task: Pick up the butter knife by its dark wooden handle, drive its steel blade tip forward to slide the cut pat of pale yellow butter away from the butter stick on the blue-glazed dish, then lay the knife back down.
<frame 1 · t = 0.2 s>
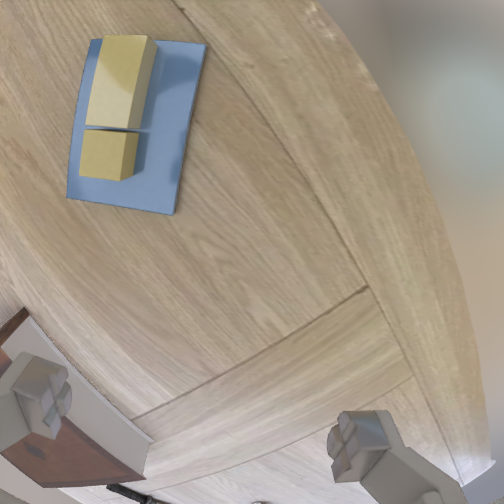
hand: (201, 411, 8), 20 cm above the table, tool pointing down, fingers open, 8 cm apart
butter dish: (130, 121, 23), on the table
knife: (154, 499, 44), on the table
book: (38, 406, 35), on the table
butter pat: (116, 152, 23), point 1 cm above the table, touching butter dish
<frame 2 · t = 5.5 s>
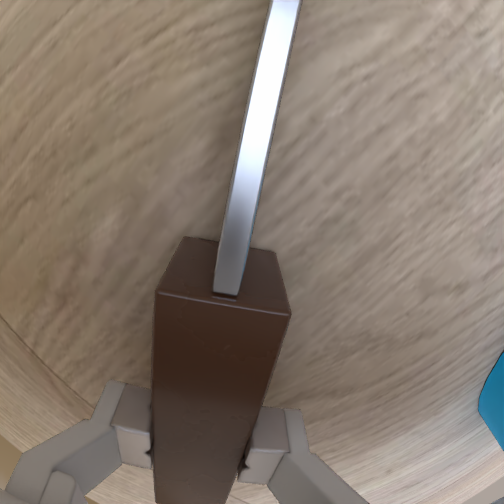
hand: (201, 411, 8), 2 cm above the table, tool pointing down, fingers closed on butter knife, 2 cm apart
butter knife: (206, 375, 10), on the table, touching gripper
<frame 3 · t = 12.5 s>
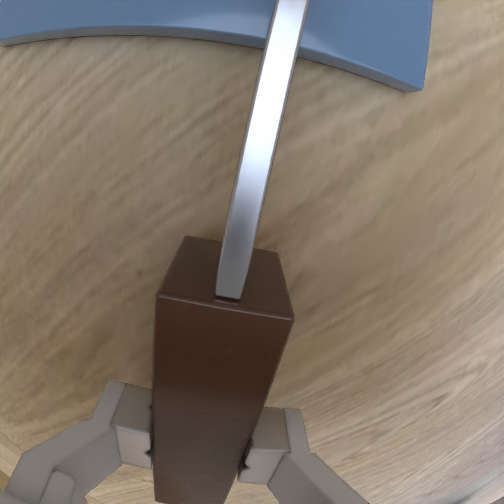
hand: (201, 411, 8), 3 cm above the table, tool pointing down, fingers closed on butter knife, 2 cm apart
butter knife: (206, 374, 10), point 2 cm above the table, touching butter pat, gripper
when the fingers open (2 cm above the table, at t = 18.9 s): butter knife stays where it is, on the table.
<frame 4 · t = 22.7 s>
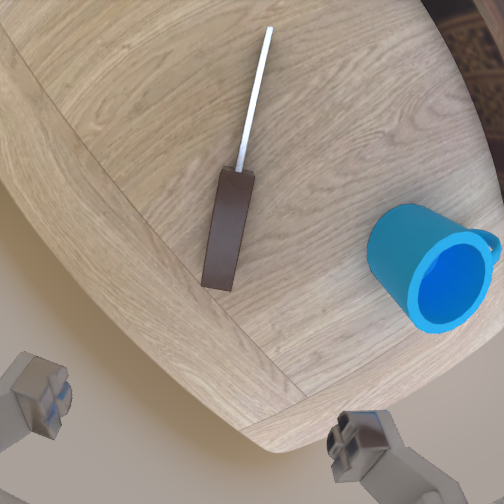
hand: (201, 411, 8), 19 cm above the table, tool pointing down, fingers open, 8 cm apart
butter knife: (227, 223, 26), on the table
mug: (422, 240, 27), on the table
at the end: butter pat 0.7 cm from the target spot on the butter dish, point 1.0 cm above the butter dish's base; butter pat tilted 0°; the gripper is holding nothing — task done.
